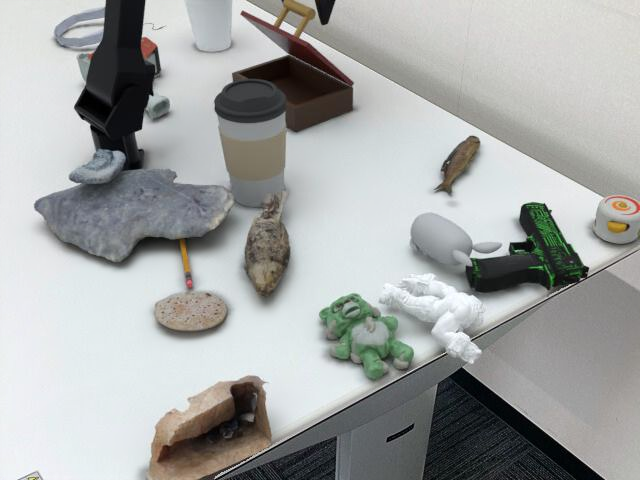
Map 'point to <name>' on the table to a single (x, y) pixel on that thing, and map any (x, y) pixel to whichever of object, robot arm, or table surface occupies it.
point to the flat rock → (133, 211)
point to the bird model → (268, 245)
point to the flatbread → (190, 311)
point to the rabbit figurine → (445, 240)
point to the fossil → (99, 168)
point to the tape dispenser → (151, 54)
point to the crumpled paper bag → (211, 431)
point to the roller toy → (618, 219)
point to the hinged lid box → (303, 90)
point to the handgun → (530, 257)
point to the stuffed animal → (364, 335)
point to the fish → (458, 160)
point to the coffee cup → (253, 138)
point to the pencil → (186, 263)
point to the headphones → (80, 17)
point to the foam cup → (210, 23)
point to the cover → (297, 39)
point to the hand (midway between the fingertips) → (306, 15)
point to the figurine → (439, 311)
